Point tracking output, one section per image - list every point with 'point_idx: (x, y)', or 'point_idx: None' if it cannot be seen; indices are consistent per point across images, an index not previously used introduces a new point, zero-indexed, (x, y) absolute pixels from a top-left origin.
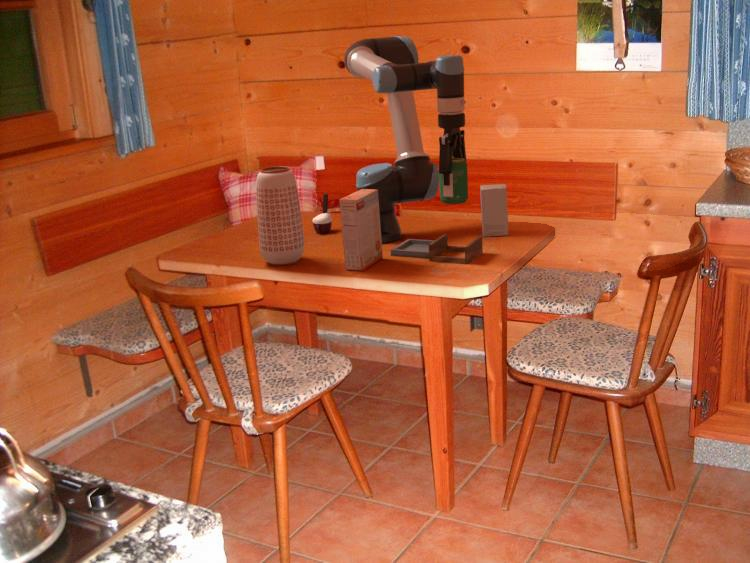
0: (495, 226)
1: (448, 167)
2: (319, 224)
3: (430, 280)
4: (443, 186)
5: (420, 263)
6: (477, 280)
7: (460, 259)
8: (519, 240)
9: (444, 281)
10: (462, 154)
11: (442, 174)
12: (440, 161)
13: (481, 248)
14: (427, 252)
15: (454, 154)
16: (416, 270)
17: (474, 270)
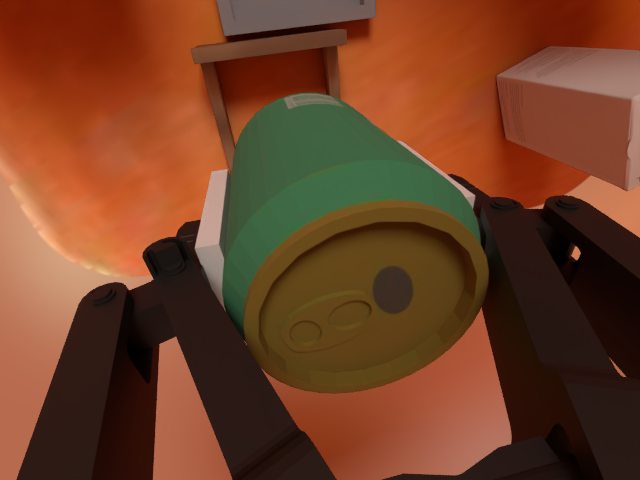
0: (518, 117)
1: (150, 371)
2: None
3: (40, 159)
4: (207, 200)
5: (159, 27)
6: (131, 255)
7: (226, 157)
8: None
9: (65, 196)
10: (578, 301)
11: (229, 220)
12: (61, 393)
13: None
14: (221, 20)
15: (505, 303)
16: (85, 60)
17: (194, 213)
